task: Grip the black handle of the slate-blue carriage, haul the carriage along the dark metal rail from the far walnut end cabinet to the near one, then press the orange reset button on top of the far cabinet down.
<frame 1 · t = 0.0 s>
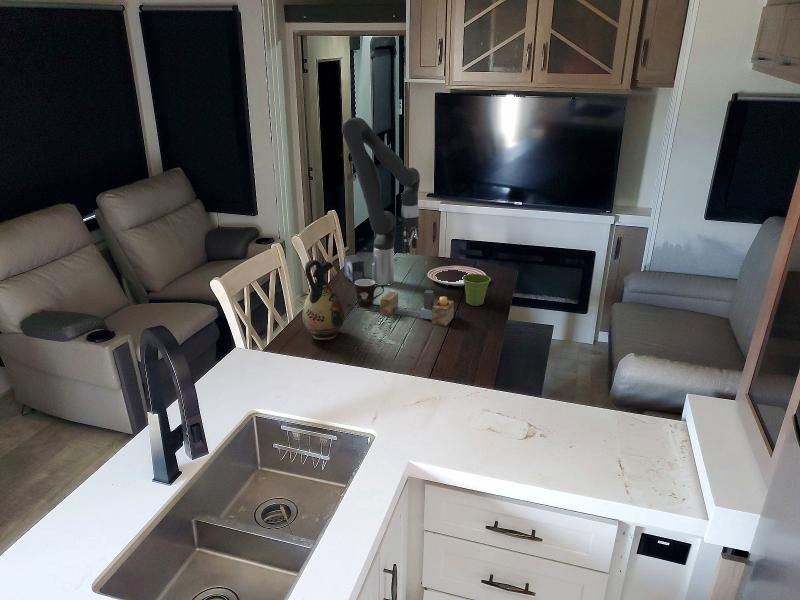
hand: (410, 250, 263), 17 cm above the table, tool pointing down, fingers open, 8 cm apart
carriage: (428, 304, 234), point 6 cm above the table, slide at 0.0 cm
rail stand: (416, 316, 238), on the table
small box: (354, 279, 279), on the table
plant pot: (475, 303, 251), on the table
reset button: (443, 302, 231), point 8 cm above the table, slide at 0.0 cm
dinner plate: (456, 280, 279), on the table
coffee mug: (368, 305, 248), on the table
ceramic jug: (322, 336, 220), on the table
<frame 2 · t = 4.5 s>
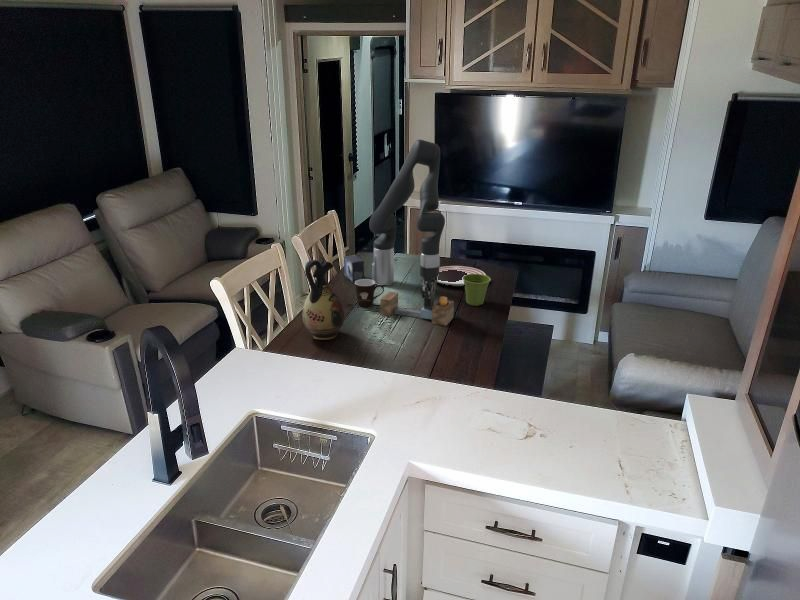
hand: (428, 305, 234), 6 cm above the table, tool pointing down, fingers closed on carriage, 3 cm apart
carriage: (428, 304, 234), point 6 cm above the table, slide at 0.0 cm, touching gripper
everything else where it was.
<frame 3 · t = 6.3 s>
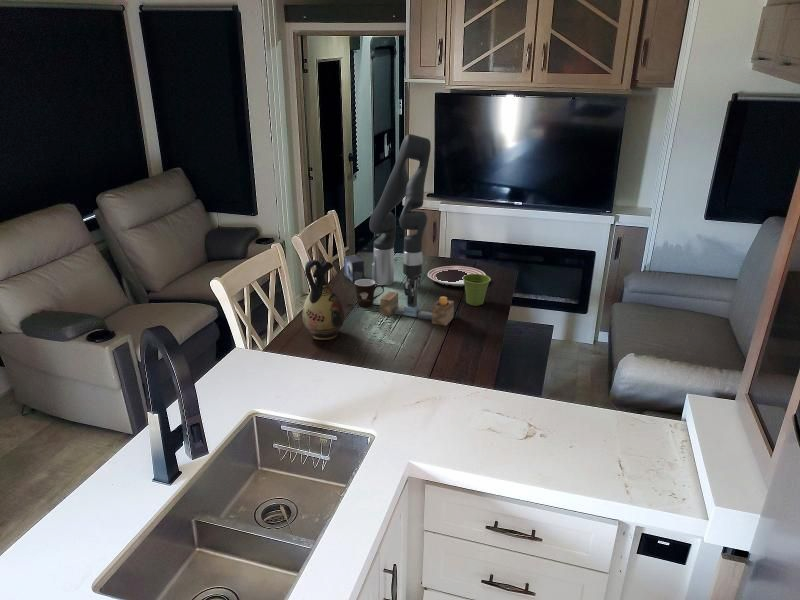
hand: (412, 302, 236), 6 cm above the table, tool pointing down, fingers closed on carriage, 3 cm apart
carriage: (412, 301, 236), point 6 cm above the table, slide at 7.1 cm, touching gripper
everything else where it was.
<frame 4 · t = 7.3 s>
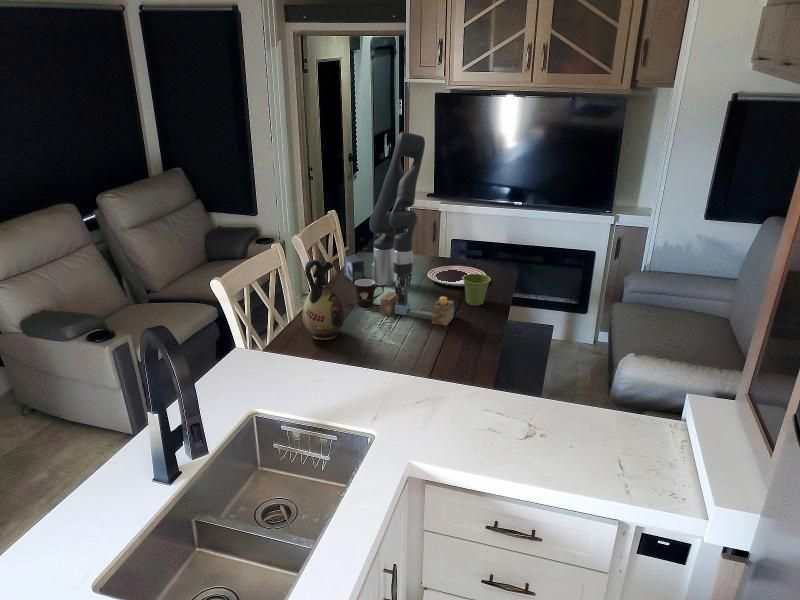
hand: (402, 301, 238), 6 cm above the table, tool pointing down, fingers closed on carriage, 3 cm apart
carriage: (402, 300, 238), point 6 cm above the table, slide at 11.1 cm, touching gripper
everything else where it was.
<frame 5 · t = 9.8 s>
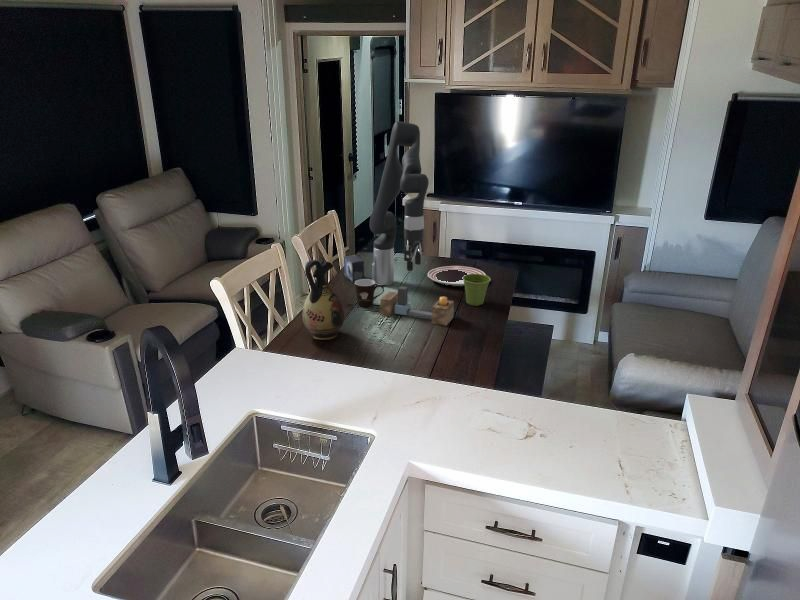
hand: (414, 267, 230), 21 cm above the table, tool pointing down, fingers open, 8 cm apart
carriage: (402, 300, 238), point 6 cm above the table, slide at 11.2 cm
everything else where it was.
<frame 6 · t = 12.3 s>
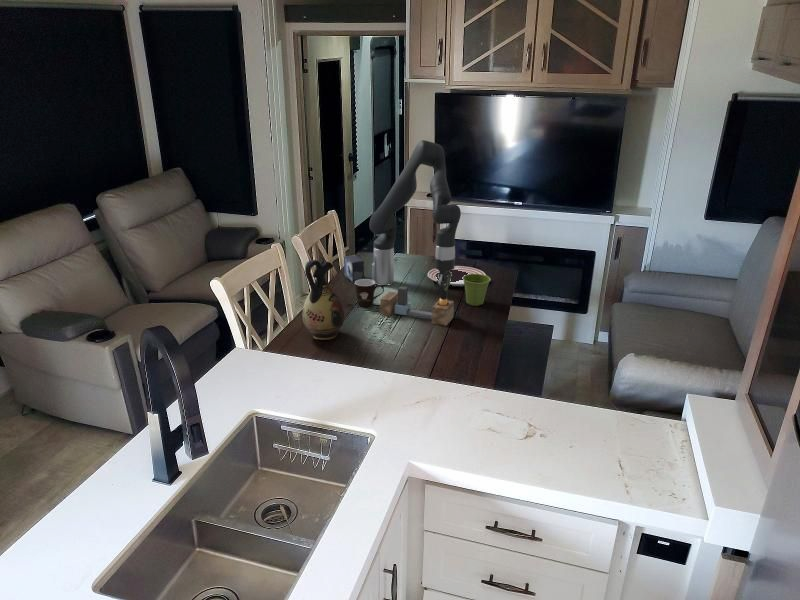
hand: (443, 298, 231), 9 cm above the table, tool pointing down, fingers closed
reset button: (443, 302, 231), point 7 cm above the table, slide at 0.4 cm, touching gripper
everything else where it was.
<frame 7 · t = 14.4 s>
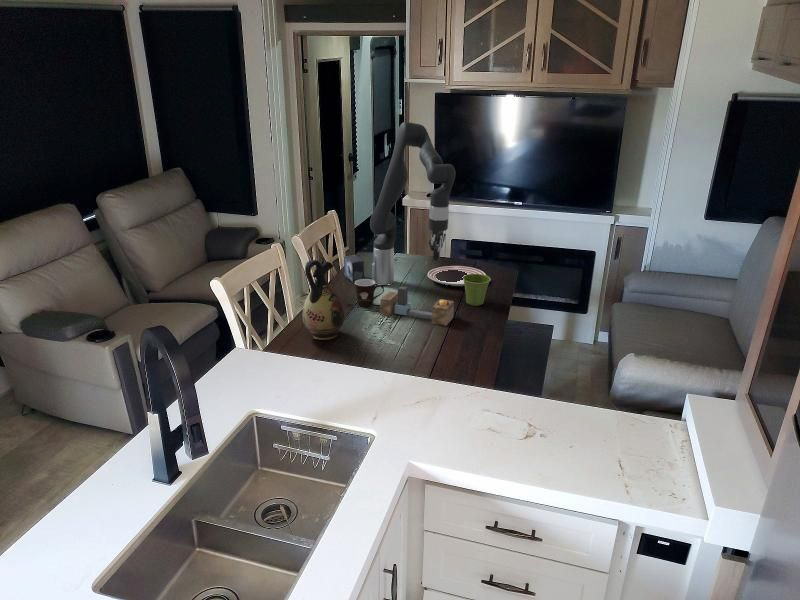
hand: (436, 259, 232), 23 cm above the table, tool pointing down, fingers closed
reset button: (443, 305, 232), point 6 cm above the table, slide at 1.4 cm
everything else where it was.
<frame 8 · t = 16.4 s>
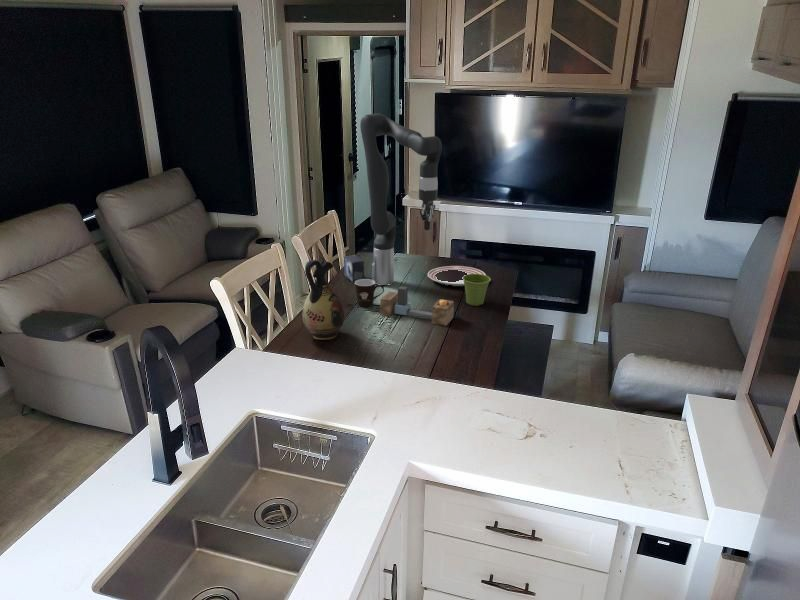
hand: (427, 229, 244), 31 cm above the table, tool pointing down, fingers closed
nothing on the table moved.
at the end: carriage slide at 11.2 cm; reset button slide at 1.4 cm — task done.
